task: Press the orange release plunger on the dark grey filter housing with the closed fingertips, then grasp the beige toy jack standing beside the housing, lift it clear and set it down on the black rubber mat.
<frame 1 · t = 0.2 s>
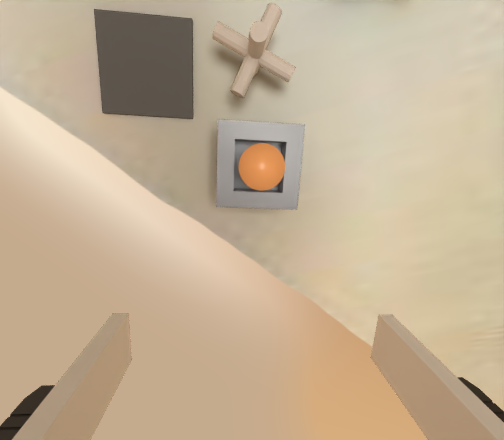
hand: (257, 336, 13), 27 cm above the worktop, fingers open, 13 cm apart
mat: (147, 68, 33), on the worktop
plunger: (260, 167, 28), point 10 cm above the worktop, slide at 0.0 cm
housing: (254, 165, 37), on the worktop
beige toy jack: (251, 68, 34), on the worktop
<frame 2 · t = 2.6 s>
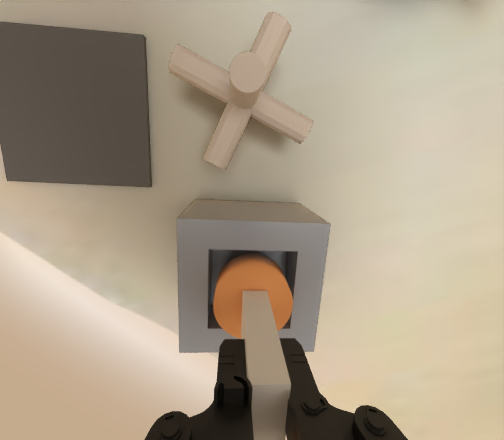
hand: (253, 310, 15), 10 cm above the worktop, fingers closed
mat: (75, 112, 21), on the worktop
plunger: (252, 295, 17), point 9 cm above the worktop, slide at 1.0 cm, touching gripper
housing: (246, 250, 25), on the worktop
beige toy jack: (241, 111, 22), on the worktop
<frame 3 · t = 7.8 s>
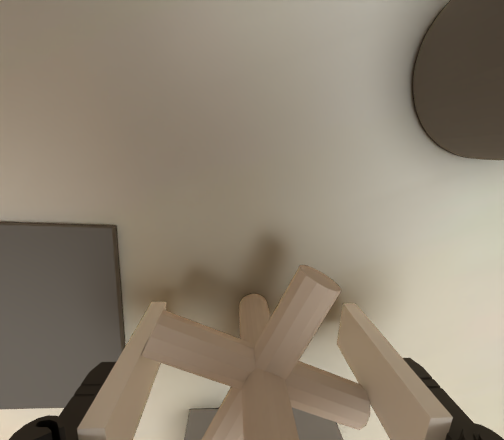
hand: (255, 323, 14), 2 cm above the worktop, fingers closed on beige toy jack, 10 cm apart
mat: (18, 319, 15), on the worktop
beige toy jack: (253, 304, 16), on the worktop, touching gripper
when the fingers open (4 cm above the worktop, at t = 13.2 s): beige toy jack drops 1 cm, resting on mat.
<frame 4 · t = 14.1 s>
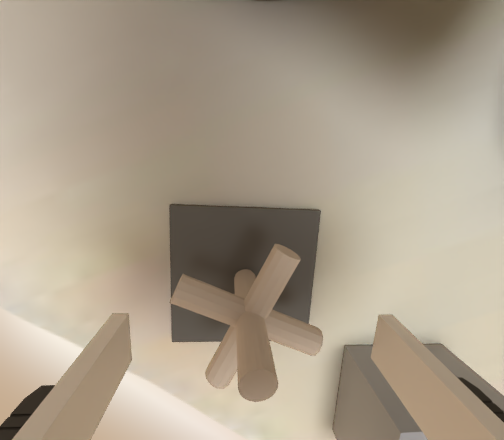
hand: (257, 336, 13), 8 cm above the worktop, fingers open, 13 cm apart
mat: (243, 276, 21), on the worktop
housing: (385, 387, 25), on the worktop
beige toy jack: (244, 277, 21), resting on mat
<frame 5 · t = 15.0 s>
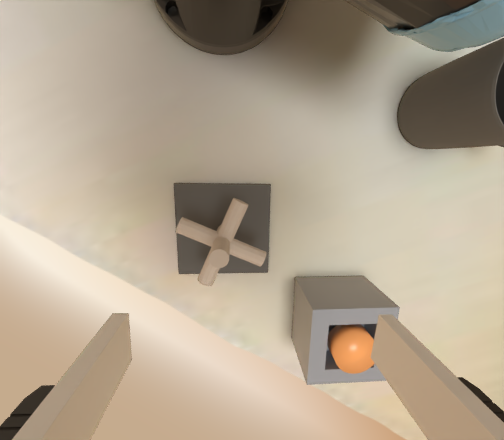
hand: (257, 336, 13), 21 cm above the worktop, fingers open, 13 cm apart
mat: (223, 229, 33), on the worktop
plunger: (351, 346, 29), point 8 cm above the worktop, slide at 1.6 cm
mug: (442, 122, 32), on the worktop
housing: (326, 307, 37), on the worktop
beige toy jack: (224, 230, 32), resting on mat
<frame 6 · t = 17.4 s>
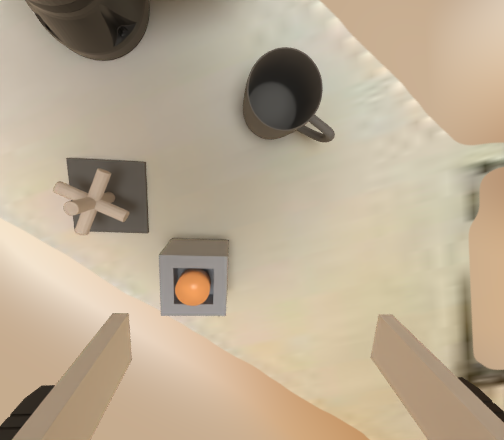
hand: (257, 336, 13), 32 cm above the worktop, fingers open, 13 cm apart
mat: (110, 196, 42), on the worktop
plunger: (193, 286, 38), point 8 cm above the worktop, slide at 1.6 cm
mug: (281, 119, 41), on the worktop
housing: (200, 265, 46), on the worktop
beige toy jack: (110, 197, 41), resting on mat
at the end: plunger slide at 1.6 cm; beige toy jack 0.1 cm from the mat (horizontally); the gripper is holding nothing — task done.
